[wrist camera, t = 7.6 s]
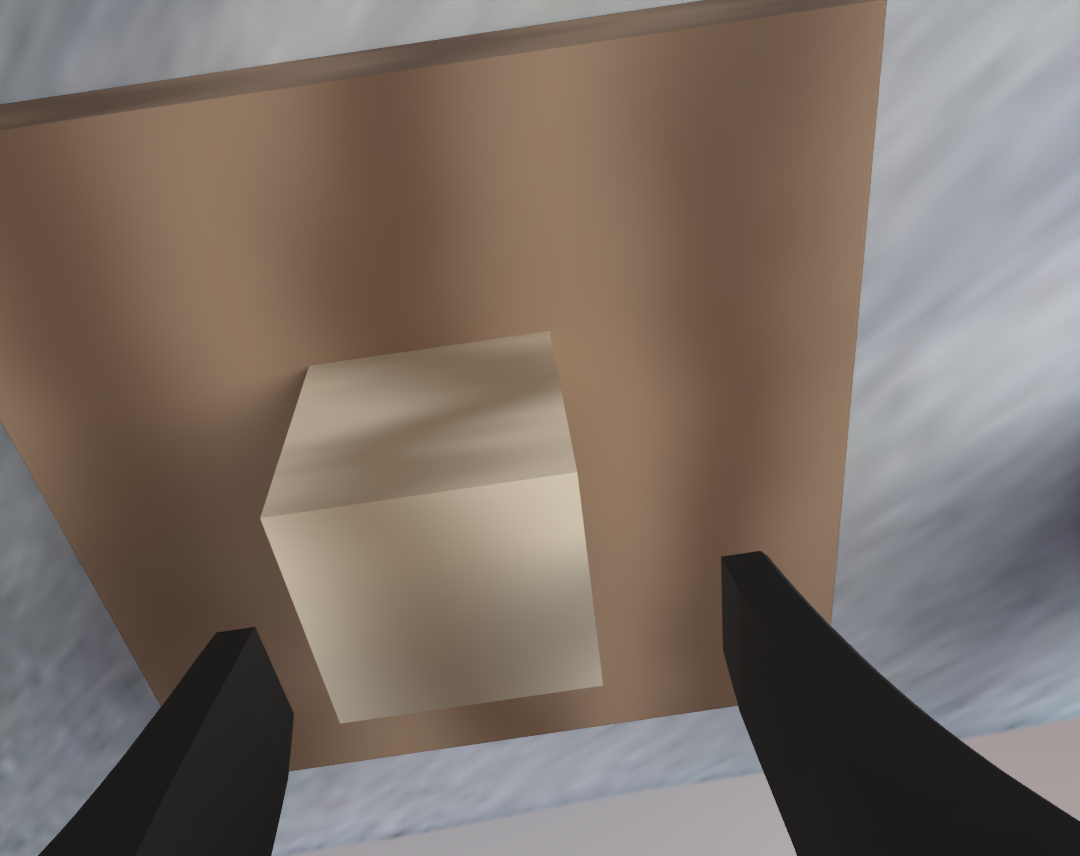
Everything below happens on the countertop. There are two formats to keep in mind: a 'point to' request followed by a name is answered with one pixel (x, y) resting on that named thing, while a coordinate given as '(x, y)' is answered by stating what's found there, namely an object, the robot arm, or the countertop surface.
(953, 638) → the countertop surface
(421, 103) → the walnut plinth
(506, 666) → the birch cube
